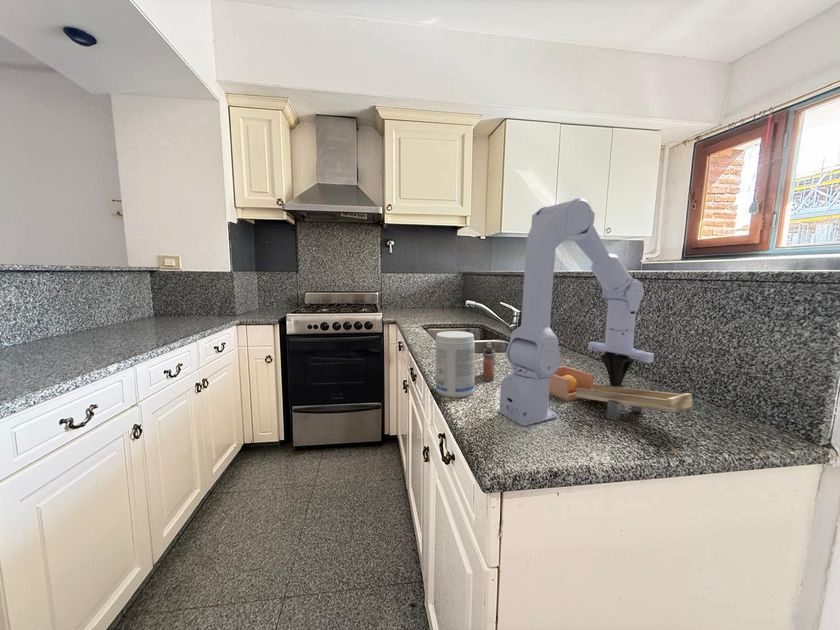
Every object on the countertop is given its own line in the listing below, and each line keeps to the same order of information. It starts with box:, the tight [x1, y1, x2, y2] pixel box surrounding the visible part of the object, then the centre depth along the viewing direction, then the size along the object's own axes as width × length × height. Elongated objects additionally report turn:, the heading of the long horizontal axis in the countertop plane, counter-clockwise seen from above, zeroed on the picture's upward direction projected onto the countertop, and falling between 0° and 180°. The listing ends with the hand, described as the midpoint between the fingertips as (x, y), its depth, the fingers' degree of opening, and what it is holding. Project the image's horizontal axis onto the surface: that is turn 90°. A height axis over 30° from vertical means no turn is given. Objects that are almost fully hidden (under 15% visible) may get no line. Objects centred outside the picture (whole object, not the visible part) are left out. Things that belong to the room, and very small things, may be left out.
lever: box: [575, 383, 694, 413], centre depth 68 cm, size 13×20×2 cm, turn 26°
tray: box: [549, 365, 595, 402], centre depth 80 cm, size 9×9×5 cm
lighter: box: [482, 341, 496, 382], centre depth 92 cm, size 8×3×10 cm, turn 168°
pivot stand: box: [606, 400, 646, 422], centre depth 67 cm, size 10×2×4 cm, turn 116°
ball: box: [562, 375, 577, 391], centre depth 80 cm, size 4×4×4 cm
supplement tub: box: [435, 330, 476, 399], centre depth 80 cm, size 10×10×15 cm
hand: (615, 384), depth 78 cm, fingers closed, pressing on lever
